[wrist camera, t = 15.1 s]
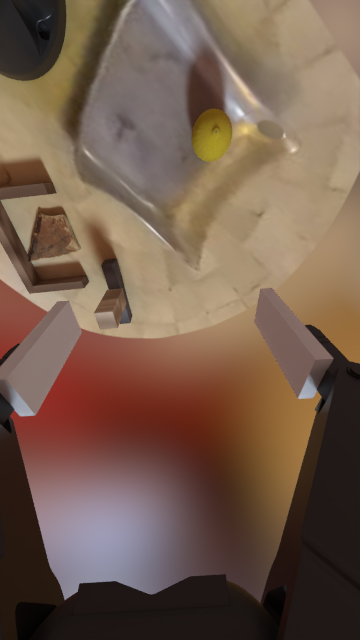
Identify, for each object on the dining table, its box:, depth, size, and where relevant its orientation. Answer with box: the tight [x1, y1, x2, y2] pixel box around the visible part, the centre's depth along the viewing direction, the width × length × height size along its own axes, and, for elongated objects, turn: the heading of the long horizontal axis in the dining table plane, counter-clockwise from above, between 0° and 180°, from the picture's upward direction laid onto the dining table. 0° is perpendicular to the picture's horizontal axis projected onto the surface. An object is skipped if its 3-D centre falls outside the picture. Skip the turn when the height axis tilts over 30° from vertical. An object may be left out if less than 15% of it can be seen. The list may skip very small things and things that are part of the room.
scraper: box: [94, 259, 132, 330], centre depth 42 cm, size 14×3×12 cm, turn 5°
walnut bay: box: [0, 183, 89, 294], centre depth 39 cm, size 18×12×3 cm, turn 5°
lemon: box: [192, 109, 232, 162], centre depth 29 cm, size 6×6×8 cm
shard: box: [28, 213, 81, 262], centre depth 39 cm, size 11×8×2 cm
